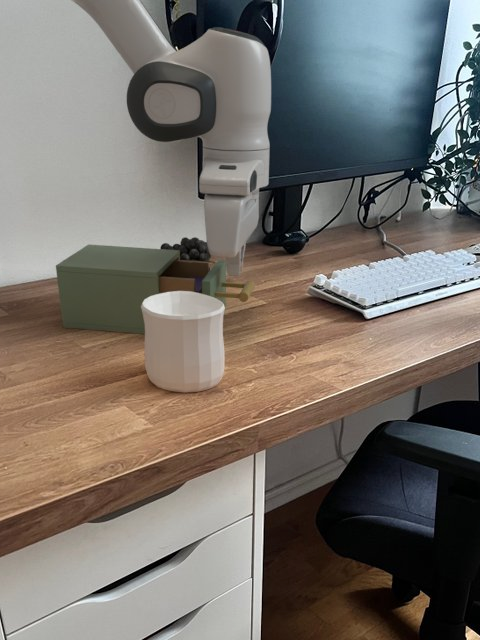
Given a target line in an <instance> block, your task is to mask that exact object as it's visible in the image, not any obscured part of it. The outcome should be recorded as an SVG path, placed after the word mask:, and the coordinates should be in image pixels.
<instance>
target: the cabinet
mask: <svg viewBox="0 0 480 640" xmlns="http://www.w3.org/2000/svg"><path fill="white" fill-rule="evenodd" d="M175 260H180V251H179V250H165V249H160V248H149V247H133V246H119V245H118V246H117V245H104V244H89V243H88V244H87V245H85V246H84V247H82V248H80V249H79V250H77V251H76V252H74V253H73V254H71V255H70V256H68V257H67V258H65V259H63V260H62V261H61V262H59V263H57V264H56V265H55V272H56V279H57V289H58V296H59V305H60V315H61V321H62V328H64V329H77V330H90V331H100V332H102V331H104V332H114V333H127V334H138V335H145V323H144V318H143V313H142V309H141V305H142V303H143V301H144V300H145V299H146V298H148V297H150V296H153V295H156V294H159V276H160V275H161V274H162V273H163V272H164V271H165V270H166V269H167V268H168V267H169V266H170V265H171V264H172V263H173V262H174V261H175Z"/></svg>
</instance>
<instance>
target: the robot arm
mask: <svg viewBox="0 0 480 640" xmlns="http://www.w3.org/2000/svg"><path fill="white" fill-rule="evenodd" d="M71 1H72V2H73V3H74V4H76V5H77V6H78V7H79V8H81V10H83V11H84V12H85V13H86V14H87V15H88V16H89V17H90V18H92V19H93V21H94V22H95V23H96V25H98V27H99V28H100V30H101V31H102V32H103V33H104V35H105V36H106V38H107V39H108V40H109V42H110V43H111V45H112V46H113V47H114V49H115V51H117V53H118V54H119V55H120V57H121V58H122V60H123V61H124V62H125V64H126V65H127V66H128V68H129V69H130V70H131V72H132V73H133V75H132V77H131V79H130V81H129V82H128V86H127V89H126V107H127V108H126V109H127V112H128V114H129V115H128V116H129V117H130V119H131V122H132V123H133V125H134V126H135V128H136V129H137V130H138V131H139V132H140V133H141V134H142V135H143V136H145V137H147V138H148V139H150V140H152V141H156V142H159V143H163V144H174V143H178V142H181V141H183V140H187V139H193V138H200V139H201V140H202V169H201V172H200V175H199V182H198V183H199V185H198V188H199V193H200V194H203V195H204V199H203V211H204V224H205V238H206V242H207V246H208V250H209V253H210V255H211V257H218V258H225V260H226V274H227V275H228V276H231V277H238V276H240V275H241V272H242V271H243V268H244V258H245V252H246V247H247V246H246V243H247V241H248V240H249V239H250V237H251V236H252V234H253V233H254V231H255V230H256V229H257V227H258V225H259V217H260V213H259V211H260V209H259V208H260V206H259V205H260V204H259V203H260V199H259V197H260V188H261V189H262V188H266V187H267V186H268V185H269V183H270V181H269V180H270V179H269V178H270V151H271V150H270V149H271V148H270V147H271V145H270V144H271V143H270V139H269V134H268V133H269V132H268V123H269V119H270V116H271V111H272V69H271V59H270V54H269V50H268V48H267V47H266V45H265V44H264V43H263V42H262V40H261V39H260V38H258V37H257V36H255V35H253V34H249V33H246V32H242V31H239V30H234V29H230V28H224V27H219V26H217V27H212V28H208V29H207V30H206V32H205V33H203V34H202V35H201V36H200V37H199V38H197V39H196V40H195V41H193V42H191V43H190V44H188V45H187V46H185V47H183V48H180V49H179V50H178V49H176V47H175V46H174V45H173V44H172V43H171V42H170V40H169V39H168V38H167V37H166V35H165V34H164V33H163V31H162V30H161V28H160V27H159V25H158V23H157V22H156V21H155V19H154V18H153V17H152V15H151V14H150V13H149V11H148V9H147V8H146V6H145V4H143V1H142V0H71Z"/></svg>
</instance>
